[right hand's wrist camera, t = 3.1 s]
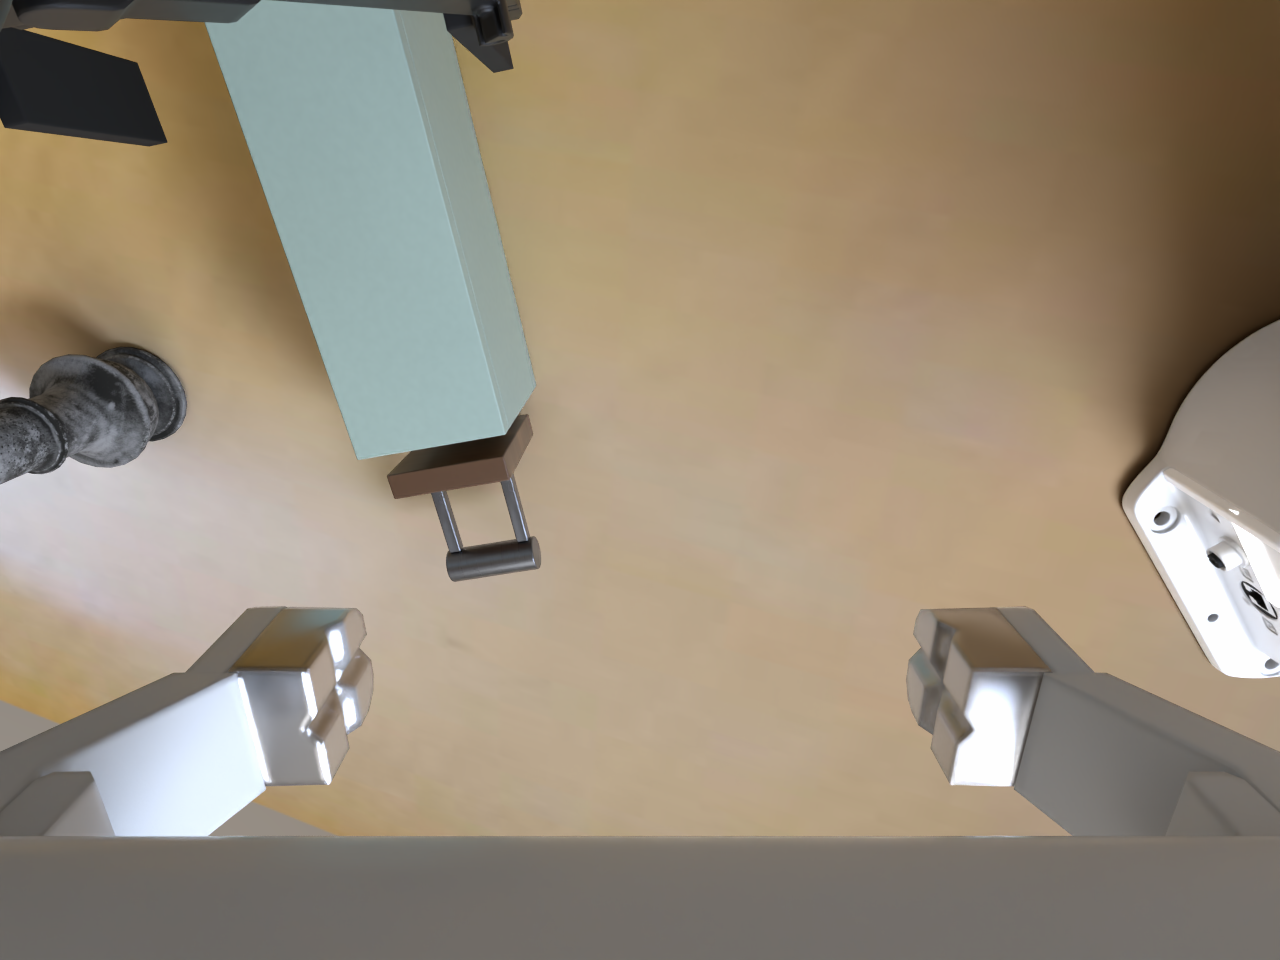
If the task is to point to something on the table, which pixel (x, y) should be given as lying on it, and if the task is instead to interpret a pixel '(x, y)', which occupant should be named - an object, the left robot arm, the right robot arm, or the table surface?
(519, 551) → the drawer
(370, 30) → the cabinet
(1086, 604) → the table surface
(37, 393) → the salt shaker
